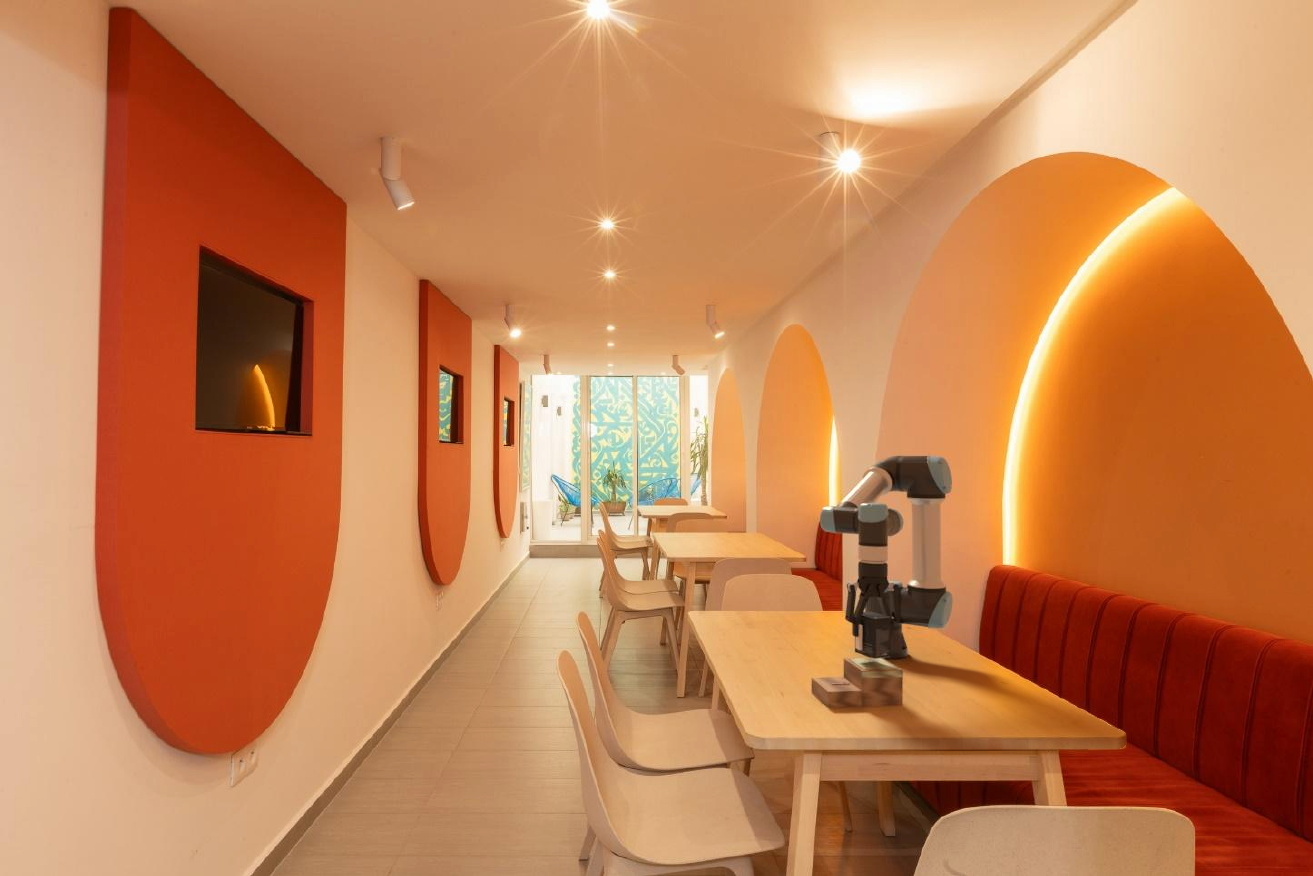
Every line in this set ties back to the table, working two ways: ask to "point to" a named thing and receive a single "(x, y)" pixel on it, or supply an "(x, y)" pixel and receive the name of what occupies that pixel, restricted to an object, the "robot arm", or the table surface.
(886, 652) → the box
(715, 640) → the table surface
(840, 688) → the stand
